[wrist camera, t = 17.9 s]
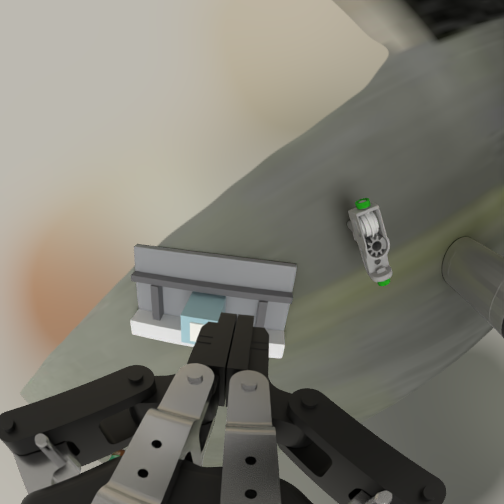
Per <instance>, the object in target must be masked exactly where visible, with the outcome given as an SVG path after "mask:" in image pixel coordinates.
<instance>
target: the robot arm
mask: <svg viewBox="0 0 504 504" xmlns="http://www.w3.org/2000/svg"><path fill="white" fill-rule="evenodd" d="M442 274H443V278H444V280H445V281H446V282H447V283H448V284H449V285H450V286H451V287H452V288H453V289H454V290H455V291H456V292H457V293H458V294H460V295H461V296H462V297H463V298H464V299H465V300H466V301H467V302H468V303H469V304H470V305H471V306H472V307H473V308H474V309H476V310H477V311H478V312H479V313H480V314H481V315H482V316H483V317H484V318H485V319H486V320H487V321H488V322H489V323H490V324H491V325H492V326H493V327H494V328H495V329H496V330H497V331H498V333H499V334H500V335H501V336H502V337H503V338H504V257H502V256H500V255H499V254H497V253H495V252H494V251H492V250H490V249H489V248H487V247H485V246H484V245H482V244H480V243H478V242H477V241H475V240H473V239H471V238H469V237H462V238H459V239H458V240H456V241H455V242H454V243H453V244H452V245H451V246H450V247H449V249H448V251H447V252H446V255H445V257H444V260H443V265H442ZM253 324H254V316H252V315H242V314H238V318H237V314H232V313H224V312H221V314H220V317H219V320H218V323H216V322H209V321H208V322H207V323H206V324H205V325H204V326H202V327H201V330H200V332H199V335H198V337H197V340H196V342H195V345H194V347H193V350H192V353H191V355H190V358H189V360H188V363H187V365H184V366H182V367H181V368H180V369H179V370H178V371H177V373H176V374H174V375H169V376H154V374H153V372H152V371H151V370H150V369H149V368H147V367H145V366H141V365H133V366H129V367H126V368H124V369H121V370H119V371H116V372H114V373H112V374H109V375H107V376H104V377H102V378H99V379H97V380H94V381H92V382H89V383H87V384H84V385H81V386H79V387H76V388H74V389H71V390H68V391H66V392H63V393H60V394H57V395H55V396H52V397H49V398H46V399H43V400H40V401H38V402H35V403H32V404H29V405H26V406H23V407H20V408H16V409H14V410H10V411H7V412H4V413H2V414H1V415H0V439H1V440H2V441H3V442H4V443H5V444H6V445H7V446H8V448H9V449H10V450H11V451H12V453H13V454H14V457H15V460H16V463H17V466H18V469H19V471H20V474H21V477H22V479H23V482H24V485H25V487H26V489H27V492H28V495H27V496H26V497H25V498H24V500H23V501H22V503H21V504H313V503H312V502H311V501H310V500H309V499H308V498H307V497H306V496H305V495H304V494H303V493H302V492H301V491H299V490H298V489H297V488H296V487H295V486H293V485H292V484H290V483H288V482H286V481H285V480H283V479H280V478H279V467H278V454H277V444H278V446H279V448H280V449H281V450H282V451H283V452H284V453H285V454H286V455H287V456H288V457H289V458H290V459H291V460H292V461H293V462H294V463H295V464H296V465H297V466H298V467H299V468H300V469H301V470H302V471H303V472H304V473H305V474H306V475H307V476H308V477H310V478H311V479H312V480H313V481H314V482H315V483H316V484H317V485H318V486H319V487H320V488H322V489H323V490H324V491H325V492H326V493H327V494H328V495H330V496H331V497H332V498H333V499H334V500H335V501H337V502H338V503H339V504H442V503H443V501H444V499H445V496H446V488H445V485H444V483H443V482H442V481H441V480H440V479H439V478H437V477H436V476H434V475H432V474H431V473H429V472H428V471H426V470H425V469H423V468H422V467H420V466H419V465H417V464H416V463H414V462H413V461H411V460H410V459H408V458H407V457H405V456H404V455H403V454H401V453H400V452H398V451H397V450H395V449H394V448H393V447H391V446H390V445H389V444H387V443H386V442H384V441H383V440H382V439H380V438H379V437H378V436H376V435H375V434H373V433H372V432H371V431H370V430H368V429H367V428H366V427H364V426H363V425H362V424H360V423H359V422H358V421H356V420H355V419H354V418H353V417H351V416H350V415H349V414H347V413H346V412H345V411H344V410H342V409H341V408H340V407H339V406H337V405H336V404H335V403H334V402H332V401H331V400H330V399H329V398H327V397H326V396H325V395H324V394H323V393H321V392H319V391H317V390H314V389H309V388H305V389H300V390H297V391H295V392H294V393H293V394H291V393H288V392H285V391H282V390H279V389H278V388H276V387H275V386H273V385H272V383H271V382H270V380H269V378H268V360H269V334H268V332H267V331H266V329H265V328H262V327H253ZM225 400H226V407H228V408H227V421H226V428H225V441H224V454H223V467H202V465H203V457H204V453H205V450H206V447H207V444H208V441H209V438H210V435H211V432H212V429H213V426H214V422H215V416H216V413H217V409H218V406H224V405H225ZM127 446H128V447H127ZM125 447H127V449H126V451H125V453H124V455H122V456H119V457H116V458H113V459H111V460H109V461H107V462H105V463H103V464H101V465H99V466H96V467H95V468H92V469H90V470H88V471H85V472H83V473H81V474H80V471H81V466H84V465H86V464H89V463H91V462H94V461H96V460H98V459H101V458H103V457H105V456H108V455H110V454H112V453H114V452H116V451H119V450H121V449H123V448H125Z"/></svg>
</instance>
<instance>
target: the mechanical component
mask: <svg viewBox="0 0 504 504" xmlns="http://www.w3.org/2000/svg"><path fill="white" fill-rule="evenodd" d="M355 204H356V208H354V209H351V210H349V211H348V213H349V217H350V220H351V221H348V222H347V226H348V228H349V229H350V230H351V231H352V232H353V237H354V239H355V240H356V241H357V243H358V246H359V249H360V253H361V256H362V260H363V263H364V266H365V269H366V271H367V273H368V275H369V276H370V278H371V279H372V280H373V281H375V282H378V285H379V286H385V285H387V284H389V283H390V277H391V276H392V269H391V267H390V266H389V262H388V258H387V253H388V251H389V248H390V242H389V239H388V238H387V235H386V231H385V227H384V223H383V220H382V216H381V213H380V209H379V206H378V205H377V204H375V203H371V202H370V201H369V198H363V199H360V200H358V201H356V202H355ZM373 211H374V212H375V214H376V216H377V218H378V220H379V223H380V228H379V225H378V221H377V219H376V216H375V215H374V213H373Z"/></svg>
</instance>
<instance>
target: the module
mask: <svg viewBox="0 0 504 504" xmlns="http://www.w3.org/2000/svg"><path fill="white" fill-rule="evenodd" d="M225 307H226V296H222V295H215V294H208V293H201V292H194V291H193V292H192V294H191V296H190V298H189V300H188V302H187V304H186V305H185V307H184V309H183V311H182V313H181V315H180V316H181V341H182V342H184V343H189V344H195V342H196V340H197V337H198V335H199V332H200V330H201V327H202V326H204V325H205V324H206V323H207V322H208V321H209V322H216V323H218V320H219V317H220V314H221V312H224V313H225Z"/></svg>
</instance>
